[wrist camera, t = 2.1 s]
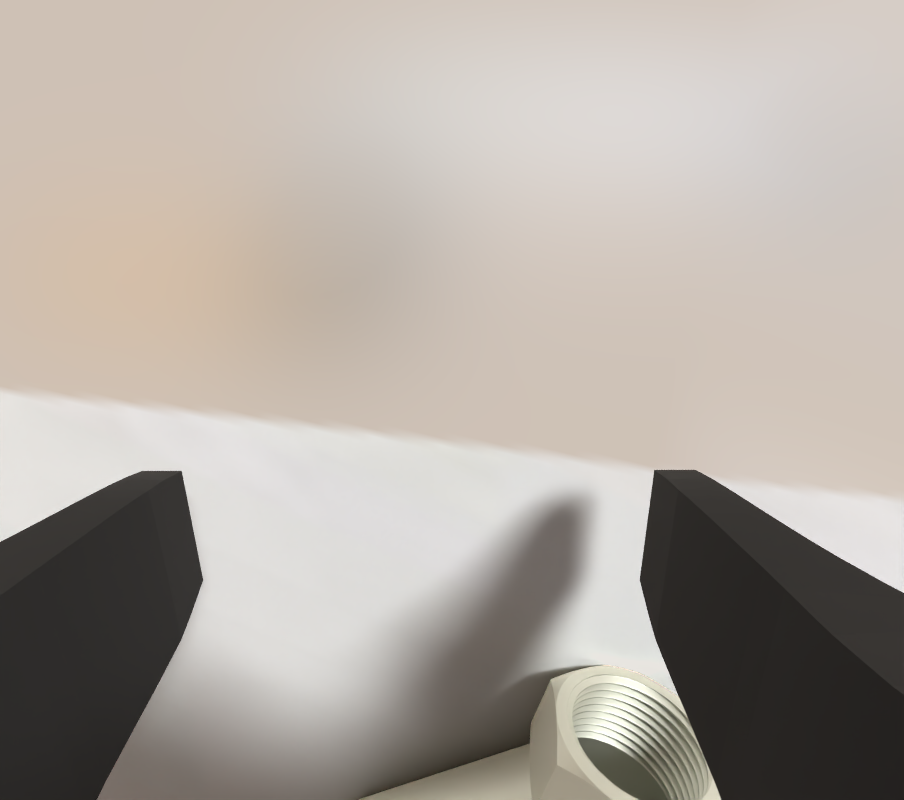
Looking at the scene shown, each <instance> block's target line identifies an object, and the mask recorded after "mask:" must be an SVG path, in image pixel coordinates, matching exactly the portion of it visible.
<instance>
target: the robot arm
mask: <svg viewBox="0 0 904 800" xmlns="http://www.w3.org/2000/svg"><path fill="white" fill-rule="evenodd" d="M202 581H203V578H202V572H201V567H200V562H199V557H198V552H197V547H196V542H195V537H194V532H193V527H192V521H191V516H190V511H189V506H188V501H187V496H186V491H185V486H184V481H183V476H182V471H141V472H139V473H136V474H134V475H131V476H128V477H126V478H124V479H122V480H120V481H117V482H115V483H113V484H111V485H109V486H107V487H105V488H103V489H101V490H99V491H97V492H95V493H93V494H91V495H89V496H87V497H86V498H84V499H82V500H80V501H78V502H76V503H74V504H72V505H70V506H68V507H67V508H65V509H63V510H61V511H59V512H57V513H55V514H53V515H51V516H49V517H47V518H46V519H44V520H42V521H40V522H38V523H36V524H34V525H32V526H30V527H28V528H27V529H25V530H23V531H21V532H19V533H17V534H15V535H13V536H11V537H9V538H7V539H5V540H3V541H1V542H0V800H97V798H98V796H99V794H100V792H101V790H102V788H103V785H104V783H105V781H106V780H107V778H108V776H109V774H110V772H111V770H112V768H113V767H114V765H115V763H116V761H117V759H118V757H119V755H120V754H121V752H122V750H123V748H124V746H125V744H126V742H127V741H128V739H129V737H130V735H131V733H132V731H133V729H134V728H135V726H136V724H137V722H138V720H139V718H140V716H141V715H142V713H143V711H144V709H145V707H146V705H147V703H148V702H149V700H150V698H151V696H152V694H153V692H154V691H155V689H156V687H157V685H158V683H159V681H160V679H161V677H162V675H163V673H164V672H165V670H166V668H167V666H168V664H169V662H170V660H171V658H172V656H173V655H174V653H175V651H176V649H177V647H178V645H179V643H180V641H181V639H182V636H183V634H184V631H185V628H186V626H187V623H188V621H189V618H190V616H191V613H192V610H193V607H194V604H195V602H196V599H197V596H198V593H199V590H200V587H201V584H202ZM640 582H641V586H642V590H643V594H644V598H645V602H646V606H647V610H648V614H649V618H650V621H651V625H652V628H653V632H654V635H655V639H656V642H657V644H658V647H659V649H660V652H661V654H662V657H663V659H664V662H665V664H666V666H667V669H668V671H669V674H670V676H671V679H672V681H673V684H674V686H675V688H676V691H677V693H678V696H679V698H680V700H681V703H682V705H683V708H684V710H685V712H686V715H687V717H688V719H689V722H690V724H691V727H692V729H693V731H694V734H695V736H696V739H697V741H698V743H699V746H700V748H701V751H702V753H703V755H704V758H705V760H706V763H707V765H708V767H709V770H710V772H711V774H712V777H713V779H714V782H715V784H716V787H717V790H718V792H719V795H720V798H721V800H904V593H903V592H901V591H899V590H897V589H895V588H893V587H891V586H889V585H887V584H885V583H884V582H882V581H880V580H878V579H876V578H875V577H873V576H871V575H869V574H867V573H866V572H864V571H862V570H860V569H859V568H857V567H855V566H853V565H851V564H850V563H848V562H846V561H844V560H842V559H841V558H839V557H837V556H835V555H834V554H832V553H830V552H829V551H827V550H825V549H824V548H822V547H820V546H819V545H817V544H815V543H814V542H812V541H810V540H809V539H807V538H805V537H804V536H802V535H800V534H799V533H797V532H796V531H794V530H792V529H791V528H789V527H788V526H786V525H784V524H783V523H781V522H780V521H778V520H776V519H775V518H773V517H772V516H770V515H769V514H767V513H765V512H764V511H762V510H761V509H759V508H758V507H756V506H754V505H753V504H751V503H750V502H748V501H747V500H745V499H743V498H742V497H740V496H739V495H737V494H736V493H734V492H732V491H731V490H729V489H728V488H726V487H724V486H723V485H721V484H720V483H718V482H716V481H715V480H713V479H711V478H709V477H708V476H706V475H704V474H702V473H700V472H698V471H696V470H654V478H653V485H652V493H651V500H650V508H649V515H648V523H647V530H646V537H645V545H644V552H643V560H642V567H641V575H640Z"/></svg>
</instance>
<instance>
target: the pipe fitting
mask: <svg viewBox="0 0 904 800" xmlns="http://www.w3.org/2000/svg"><path fill="white" fill-rule="evenodd" d="M358 800H721V798H720V795H719V792H718V790H717V787H716V784H715V782H714V779H713V777H712V774H711V772H710V770H709V767H708V765H707V763H706V760H705V758H704V755H703V753H702V751H701V748H700V746H699V743H698V741H697V739H696V736H695V734H694V731H693V729H692V727H691V724H690V722H689V719H688V717H687V715H686V712H685V710H684V708H683V705H682V703H681V700H680V698H679V697H678V696H677V695H675V694H674V693H673V692H671V691H670V690H668V689H667V688H665V687H664V686H662V685H661V684H659V683H657V682H656V681H654V680H652V679H650V678H649V677H647V676H645V675H643V674H641V673H638V672H635V671H632V670H628V669H625V668H620V667H616V666H610V665H602V666H593V667H588V668H584V669H580V670H576V671H572V672H569V673H566V674H563V675H561V676H558V677H555V678H552V679H551V680H550V682H549V684H548V686H547V689H546V691H545V693H544V695H543V697H542V700H541V702H540V704H539V706H538V709H537V711H536V713H535V715H534V717H533V720H532V722H531V729H530V743H529V744H526V745H523V746H520V747H517V748H514V749H511V750H508V751H505V752H502V753H499V754H496V755H493V756H490V757H486V758H483V759H480V760H477V761H474V762H471V763H468V764H465V765H462V766H459V767H456V768H453V769H450V770H447V771H444V772H441V773H437V774H434V775H431V776H428V777H425V778H422V779H419V780H416V781H413V782H410V783H407V784H404V785H401V786H398V787H395V788H392V789H388V790H385V791H382V792H379V793H376V794H373V795H370V796H367V797H364V798H361V799H358Z"/></svg>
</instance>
